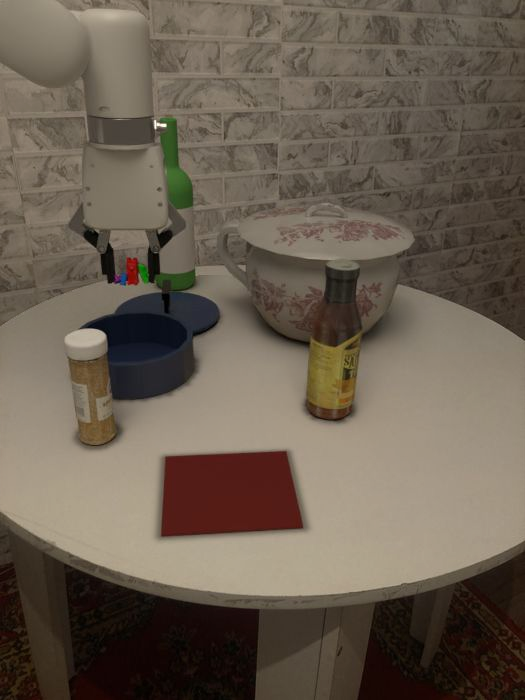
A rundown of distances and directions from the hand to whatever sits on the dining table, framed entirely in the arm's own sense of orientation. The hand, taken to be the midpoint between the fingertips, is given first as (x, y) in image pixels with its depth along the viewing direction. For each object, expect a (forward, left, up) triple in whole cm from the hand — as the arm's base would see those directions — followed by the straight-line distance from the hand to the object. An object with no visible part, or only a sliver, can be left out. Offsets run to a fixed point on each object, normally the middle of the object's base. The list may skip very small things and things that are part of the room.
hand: (131, 278), depth 77 cm
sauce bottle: (+25, -10, -15) cm, 31 cm away
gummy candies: (0, 0, -1) cm, 1 cm away
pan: (-1, +2, -15) cm, 15 cm away
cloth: (+11, -25, -15) cm, 31 cm away
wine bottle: (+4, +34, -15) cm, 38 cm away
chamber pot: (+28, +15, -15) cm, 35 cm away
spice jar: (-4, -14, -15) cm, 21 cm away
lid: (+3, +19, -14) cm, 24 cm away
